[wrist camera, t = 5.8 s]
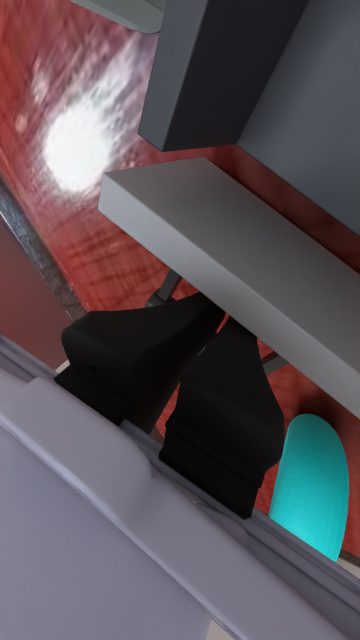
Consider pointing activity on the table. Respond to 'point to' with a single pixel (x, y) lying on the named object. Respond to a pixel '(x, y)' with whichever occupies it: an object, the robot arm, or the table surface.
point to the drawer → (271, 151)
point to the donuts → (312, 485)
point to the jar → (130, 12)
